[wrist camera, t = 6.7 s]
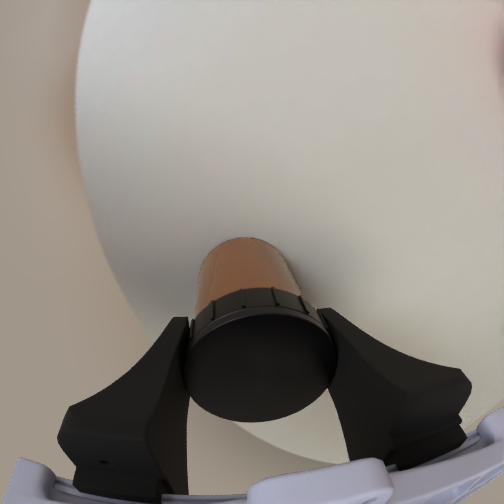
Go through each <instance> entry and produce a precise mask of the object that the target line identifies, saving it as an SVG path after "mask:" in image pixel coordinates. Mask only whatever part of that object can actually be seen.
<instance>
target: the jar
mask: <svg viewBox="0 0 504 504" xmlns="http://www.w3.org/2000/svg"><path fill="white" fill-rule="evenodd" d="M271 287H275V289H280V290H284V291H287V292H290V293H293V294H295V295H297V296H299V295H301V296H302V294H301V292H300V290H299V288H298V286H297V284H296V282H295V280H294V278H293V276H292V274H291V272H290V270H289V268H288V265H287V263H286V261H285V260H284V258H283V256H282V255H281V254H280V252H279V251H278V250H277V249H276V248H275V247H273V246H272V245H270V244H269V243H267V242H265V241H262V240H259V239H254V238H237V239H232V240H229V241H226V242H224V243H222V244H220V245H219V246H217V247H216V248H214V249H213V250H212V251H211V252H210V253H209V254H208V255H207V257H206V258H205V260H204V262H203V264H202V266H201V269H200V273H199V281H198V290H197V300H196V309H195V318H196V316H197V315H198V314H199V313H200V312H201V311H202V310H203V309H204V308H205V307H206V306H208V305H209V304H210V303H211V301H212V300H214V301H215V300H216V299H218V298H220V297H222V296H224V295H226V294H229V293H232V292H235V291H239V289H241V288H243V289H249V288H271ZM302 297H303V296H302ZM303 299H304V298H303Z"/></svg>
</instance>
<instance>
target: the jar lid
mask: <svg viewBox="0 0 504 504" xmlns="http://www.w3.org/2000/svg"><path fill="white" fill-rule="evenodd" d="M327 330H329V329H328V327H327V325H326V323H325V321H324V319H323V317H322V315H321V313H320V312H319V311H318V312H317V311H316V310H315V309H314V308H313V307H312V306H311V305H310V304H309V303H308V302H307V301H305V300H304V299H303V297H302V296H301V295H299V296H297V295H295V294H293V293H290V292H287V291H284V290H280V289H275V287H271V288H249V289H243V288H241V289H239V291H235V292H232V293H229V294H226V295H224V296H222V297H220V298H218V299H216V300H215V301H214V300H212V301H211V303H210V304H209V305H208V306H206V307H205V308H204V309H203V310H202V311H201V312H200V313H199V314H198V315H197V316H196V318H195V319H192V320H191V326H190V328H189V330H188V333H187V337H186V343H185V351H184V355H183V358H182V362H183V373H182V374H183V381H184V385H185V388H186V390H187V392H188V393H189V395H190V396H191V397H192V399H193V400H194V401H195V402H196V403H197V404H198V405H199V406H200V407H202V408H203V409H204V410H206V411H208V412H210V413H211V414H213V415H216V416H218V417H221V418H224V419H227V420H232V421H237V422H265V421H271V420H276V419H280V418H283V417H286V416H289V415H291V414H294V413H296V412H298V411H300V410H302V409H304V408H305V407H307V406H308V405H310V404H311V403H313V402H314V401H315V400H316V399H317V398H318V397H319V396H321V395H322V393H323V392H324V391H325V390H326V389H327V387H328V386H329V384H330V383H331V381H332V379H333V377H334V374H335V371H336V366H337V353H336V348H335V346H334V343H333V341H332V339H331V337H330V335H329V333H328V331H327Z"/></svg>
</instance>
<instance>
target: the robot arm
mask: <svg viewBox="0 0 504 504" xmlns="http://www.w3.org/2000/svg"><path fill="white" fill-rule="evenodd" d="M318 311H319V312H320V313H321V315H322V317H323V319H324V321H325V323H326V325H327V327H328V329H329V330H327V331H328V333H329V335H330V337H331V339H332V341H333V343H334V346H335V348H336V353H337V366H336V371H335V374H334V377H333V379H332V381H331V383H330V384H329V386H328V387H327V388H328V390H329V393H330V395H331V397H332V399H333V402H334V404H335V407H336V410H337V413H338V416H339V420H340V423H341V427H342V430H343V434H344V438H345V442H346V446H347V451H348V455H349V460H350V462H346V463H342V464H337V465H333V466H328V467H323V468H318V469H313V470H307V471H301V472H294V473H287V474H281V475H277V476H272V477H268V478H265V479H263V480H261V481H258V482H256V483H254V484H253V485H252V486H251V487H250V489H249V490H248V491H247V494H235V495H189V493H188V492H189V491H188V476H187V440H186V439H187V432H186V431H187V429H186V428H187V415H188V407H189V399H190V395H189V393H188V392H187V390H186V388H185V385H184V381H183V374H182V373H183V362H182V358H183V355H184V351H185V343H186V337H187V333H188V330H189V321H188V317H173V318H172V319H171V321H170V322H169V324H168V325H167V327H166V328H165V329H164V331H163V332H162V334H161V335H160V336H159V338H158V339H157V340H156V342H155V343H154V344H153V345H152V347H151V348H150V349H149V350H148V351H147V352H146V354H145V355H144V356H143V357H142V358H141V359H140V360H139V361H138V362H137V363H136V364H135V365H134V366H133V367H132V368H131V369H130V370H129V371H128V372H127V373H125V374H124V375H123V376H122V377H120V378H119V379H118V380H116V381H115V382H114V383H112V384H111V385H110V386H108V387H106V388H105V389H103V390H102V391H100V392H98V393H97V394H95V395H93V396H91V397H89V398H87V399H85V400H83V401H81V402H79V403H77V404H74V405H72V406H70V407H69V408H68V411H67V412H66V414H65V417H64V419H63V422H62V425H61V428H60V430H59V433H58V436H57V440H58V443H59V445H60V447H61V448H62V450H63V451H64V452H65V454H66V455H67V456H68V457H69V458H70V460H71V461H72V462H73V463H74V465H76V471H75V475H74V479H73V480H69V479H65V478H61V477H57V476H56V475H55V474H54V473H53V471H51V469H50V468H48V467H47V466H45V465H43V464H41V463H38V462H35V461H31V460H28V459H25V458H22V457H18V460H17V462H16V465H15V468H14V471H13V473H12V476H11V479H10V482H9V485H8V488H7V491H6V494H5V497H4V500H3V504H457V503H459V502H460V501H462V500H464V499H465V498H467V497H468V496H470V495H472V494H473V493H474V492H476V491H478V490H479V489H481V488H482V487H484V486H485V485H487V484H488V483H490V482H491V481H493V480H494V479H496V478H497V477H499V476H500V475H501V474H502V473H503V472H504V407H501V408H499V409H497V410H496V411H494V412H492V413H490V414H489V415H487V416H486V417H485V418H483V420H482V421H481V422H480V423H479V425H478V426H477V429H476V430H473V431H471V432H469V433H468V434H465V433H464V431H463V429H462V428H461V426H460V425H459V424H461V422H462V419H461V418H460V416H459V415H458V414H459V413H460V411H461V409H462V408H463V406H464V405H465V403H466V401H467V400H468V398H469V396H470V394H471V389H472V384H471V382H470V381H469V379H468V378H467V377H466V376H465V374H464V373H463V372H462V371H461V369H458V368H452V367H446V366H441V365H437V364H433V363H429V362H425V361H422V360H419V359H416V358H414V357H411V356H408V355H406V354H403V353H401V352H399V351H397V350H395V349H393V348H391V347H389V346H387V345H385V344H383V343H381V342H379V341H378V340H376V339H375V338H373V337H371V336H370V335H368V334H367V333H365V332H364V331H362V330H361V329H359V328H358V327H356V326H355V325H354V324H352V323H351V322H350V321H348V320H347V319H346V318H344V317H343V316H341V315H340V314H339V313H337V312H336V311H335V310H333V309H332V308H322V309H317V312H318Z"/></svg>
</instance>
